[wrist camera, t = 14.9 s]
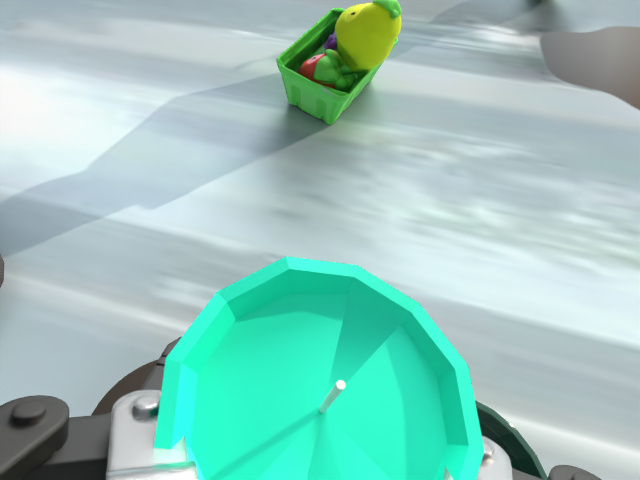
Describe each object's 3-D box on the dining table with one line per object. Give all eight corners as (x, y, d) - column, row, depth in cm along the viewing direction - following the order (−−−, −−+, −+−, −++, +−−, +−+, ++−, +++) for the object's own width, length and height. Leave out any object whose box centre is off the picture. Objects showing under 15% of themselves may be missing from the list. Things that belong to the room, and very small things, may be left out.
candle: (191, 399, 18) (115, 251, 8) (336, 361, 19) (438, 195, 9) (218, 582, 15) (159, 736, 5) (385, 522, 17) (608, 543, 6)
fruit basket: (328, 46, 51) (346, -61, 42) (397, 82, 50) (433, -20, 40) (270, 104, 46) (275, -4, 36) (346, 146, 44) (373, 45, 35)
